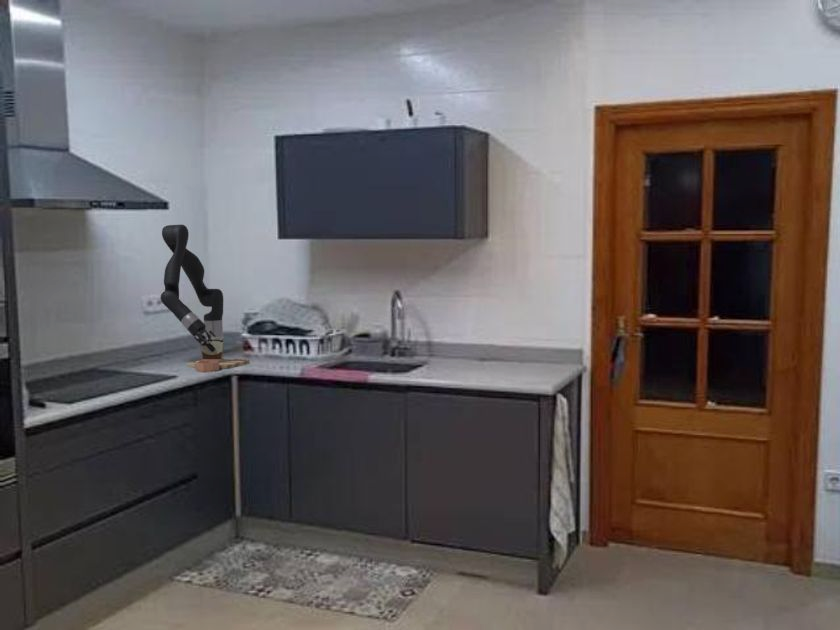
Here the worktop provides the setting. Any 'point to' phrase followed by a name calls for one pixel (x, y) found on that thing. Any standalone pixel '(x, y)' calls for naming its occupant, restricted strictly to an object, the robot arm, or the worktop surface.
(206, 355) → the food container
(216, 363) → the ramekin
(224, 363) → the board
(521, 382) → the worktop surface
